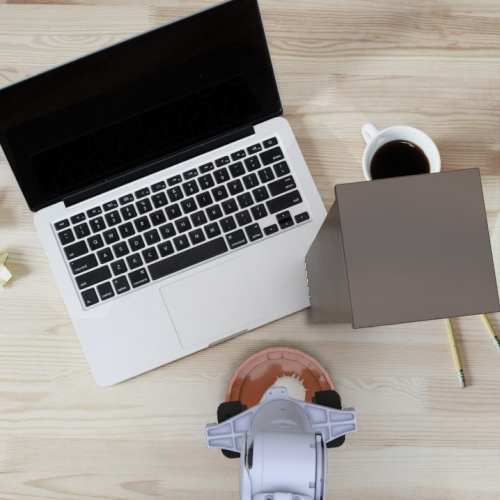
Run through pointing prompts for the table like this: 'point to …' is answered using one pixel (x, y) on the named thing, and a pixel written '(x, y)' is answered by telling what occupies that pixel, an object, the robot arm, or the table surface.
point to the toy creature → (290, 387)
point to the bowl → (276, 374)
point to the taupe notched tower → (403, 252)
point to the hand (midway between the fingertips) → (280, 410)
